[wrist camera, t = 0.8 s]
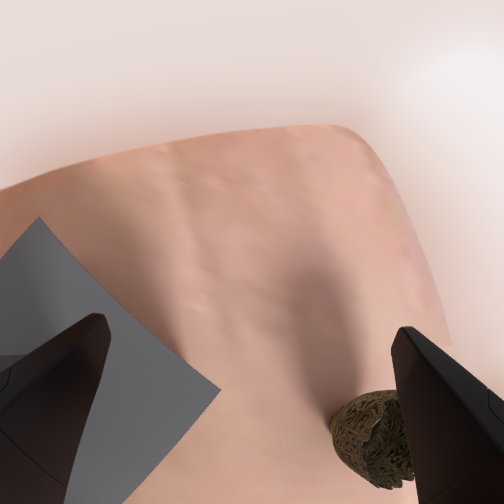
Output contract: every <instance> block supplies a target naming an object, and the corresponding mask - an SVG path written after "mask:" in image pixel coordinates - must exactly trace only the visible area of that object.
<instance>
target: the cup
mask: <svg viewBox="0 0 504 504" xmlns="http://www.w3.org/2000/svg"><path fill="white" fill-rule="evenodd" d="M330 432H331V435H332V437H333V446H334V449H335V451H336V453H337V455H338V456H339V458H340V459H341V460H342V461H343V462H344V463H345V464H346V465H347V466H348V467H349V468H350V469H352V470H353V471H354V472H356V473H357V474H359V475H360V476H361V477H363V478H364V479H366V480H367V481H369V482H370V483H371V484H373V485H374V486H375V487H377V488H380V487H381V488H386V489H389V490H392V489H393V488H401V487H402V484H403V483H402V480H407V481H413V480H414V470H413V464H412V459H411V454H410V449H409V444H408V439H407V434H406V429H405V425H404V420H403V416H402V412H401V408H400V403H399V399H398V395H397V390H384V391H375V392H370V393H366V394H363V395H361V396H359V397H357V398H355V399H354V400H352V401H351V402H350V403H348V404H347V405H346V406H344V407H342V408H340V409H339V410H338V411H337V412H336V413H335V414H334V416H333V418H332V420H331V423H330ZM412 473H413V474H412ZM401 479H402V480H401ZM392 487H393V488H392Z"/></svg>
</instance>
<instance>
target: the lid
mask: <svg viewBox="0 0 504 504" xmlns="http://www.w3.org/2000/svg"><path fill="white" fill-rule="evenodd" d="M91 313H102V314H104V315H105V316H106V319H107V322H108V325H109V328H110V331H111V343H110V347H109V350H108V354H107V358H106V362H105V366H104V370H103V374H102V377H101V381H100V384H99V387H98V390H97V392H96V395H95V398H94V401H93V404H92V407H91V410H90V413H89V416H88V419H87V422H86V425H85V428H84V431H83V434H82V437H81V441H80V444H79V447H78V451H77V454H76V458H75V461H74V465H73V468H72V472H71V476H70V479H69V483H68V487H67V492H66V496H65V500H64V504H122V503H123V502H124V501H125V500H126V499H127V498H128V497H129V496H130V495H131V494H132V493H133V492H134V490H135V489H136V488H137V487H138V486H139V485H140V484H141V483H142V482H143V481H144V480H145V479H146V477H147V476H148V475H149V474H150V473H151V472H152V471H153V470H154V469H155V468H156V466H157V465H158V464H159V463H160V462H161V461H162V460H163V459H164V457H165V456H166V455H167V454H168V453H169V452H170V451H171V449H172V448H173V447H174V446H175V445H176V444H177V443H178V441H179V440H180V439H181V438H182V437H183V436H184V434H185V433H186V432H187V431H188V430H189V429H190V427H191V426H192V425H193V424H194V423H195V421H196V420H197V419H198V418H199V417H200V415H201V414H202V413H203V412H204V411H205V409H206V408H207V407H208V406H209V404H210V403H211V402H212V401H213V400H214V398H215V397H216V396H217V395H218V393H219V392H220V391H221V389H220V388H218V387H217V386H216V385H214V384H213V383H212V382H210V381H209V380H208V379H207V378H205V377H204V376H203V375H201V374H200V373H199V372H198V371H196V370H195V369H194V368H192V367H191V366H190V365H189V364H187V363H186V362H185V361H184V360H183V359H181V358H180V357H179V356H178V355H176V354H175V353H174V352H173V351H172V350H171V349H169V348H168V347H167V346H166V345H165V344H163V343H162V342H161V341H160V340H159V339H158V338H157V337H155V336H154V335H153V334H152V333H151V332H150V331H149V330H147V329H146V328H145V327H144V326H143V325H142V324H141V323H140V322H139V321H138V320H136V319H135V318H134V317H133V316H132V315H131V314H130V313H129V312H128V311H127V310H126V309H125V308H124V307H123V306H121V305H120V304H119V303H118V302H117V301H116V300H115V299H114V298H113V297H112V296H111V295H110V294H109V293H108V292H107V291H106V290H105V289H104V288H103V287H102V286H101V285H100V284H99V283H98V282H97V281H96V280H95V279H94V278H93V277H92V276H91V275H90V274H89V273H88V271H87V270H86V269H85V268H84V267H83V266H82V265H81V264H80V263H79V262H78V261H77V260H76V259H75V258H74V256H73V255H72V254H71V253H70V252H69V251H68V250H67V249H66V248H65V246H64V245H63V244H62V243H61V242H60V241H59V240H58V238H57V237H56V236H55V235H54V234H53V233H52V231H51V230H50V229H49V228H48V227H47V225H46V224H45V223H44V222H43V221H42V219H41V218H40V217H38V218H37V219H36V220H35V221H34V222H33V223H32V225H31V226H30V227H29V228H28V229H27V230H26V231H25V232H24V233H23V234H22V235H21V236H20V238H19V239H18V240H17V241H16V242H15V243H14V244H13V245H12V247H11V248H10V249H9V250H8V251H7V252H6V254H5V255H4V256H3V257H2V258H1V260H0V372H2V371H3V370H5V369H6V368H8V367H9V366H12V364H14V363H15V362H17V361H18V360H20V359H21V358H23V357H24V356H26V355H27V354H29V353H30V352H32V351H33V350H35V349H36V348H38V347H39V346H41V345H42V344H44V343H45V342H47V341H48V340H50V339H52V338H53V337H55V336H56V335H58V334H59V333H61V332H62V331H64V330H65V329H67V328H69V327H70V326H72V325H73V324H75V323H76V322H78V321H80V320H81V319H83V318H84V317H86V316H87V315H89V314H91Z"/></svg>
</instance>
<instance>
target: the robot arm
mask: <svg viewBox="0 0 504 504" xmlns="http://www.w3.org/2000/svg"><path fill="white" fill-rule="evenodd" d="M110 343H111V331H110V328H109V325H108V322H107V319H106V316H105V315H104V314H102V313H91V314H89V315H87V316H86V317H84V318H83V319H81V320H80V321H78V322H76V323H75V324H73V325H72V326H70V327H69V328H67V329H65V330H64V331H62V332H61V333H59V334H58V335H56V336H55V337H53V338H52V339H50V340H48V341H47V342H45V343H44V344H42V345H41V346H39V347H38V348H36V349H35V350H33V351H32V352H30V353H29V354H27V355H26V356H24V357H23V358H21V359H20V360H18V361H17V362H15V363H14V364H12V366H9V367H8V368H6V369H5V370H3V371H2V372H0V504H64V500H65V496H66V492H67V487H68V483H69V479H70V476H71V472H72V468H73V465H74V461H75V458H76V454H77V451H78V447H79V444H80V441H81V437H82V434H83V431H84V428H85V425H86V422H87V419H88V416H89V413H90V410H91V407H92V404H93V401H94V398H95V395H96V392H97V390H98V387H99V384H100V381H101V377H102V374H103V370H104V366H105V362H106V358H107V354H108V350H109V347H110ZM391 356H392V362H393V368H394V375H395V382H396V389H397V395H398V399H399V403H400V408H401V412H402V416H403V420H404V425H405V429H406V434H407V439H408V444H409V449H410V454H411V459H412V464H413V470H414V476H415V482H416V488H417V495H418V502H419V504H504V401H503V400H502V399H501V398H500V397H498V396H497V395H496V394H495V393H494V392H493V391H491V390H490V389H487V387H486V386H485V385H484V384H483V383H482V382H480V381H479V380H478V379H477V378H476V377H474V376H473V375H472V374H471V373H470V372H468V371H467V370H466V369H465V368H464V367H462V366H461V365H460V364H459V363H458V362H456V361H455V360H454V359H453V358H451V357H450V356H449V355H448V354H446V353H445V352H444V351H443V350H441V349H440V348H439V347H438V346H436V345H435V344H434V343H433V342H431V341H430V340H429V339H428V338H426V337H425V336H424V335H423V334H421V333H420V332H419V331H418V330H416V329H415V328H414V327H412V326H406V327H400V328H399V330H398V332H397V334H396V337H395V339H394V341H393V344H392V347H391Z"/></svg>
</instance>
